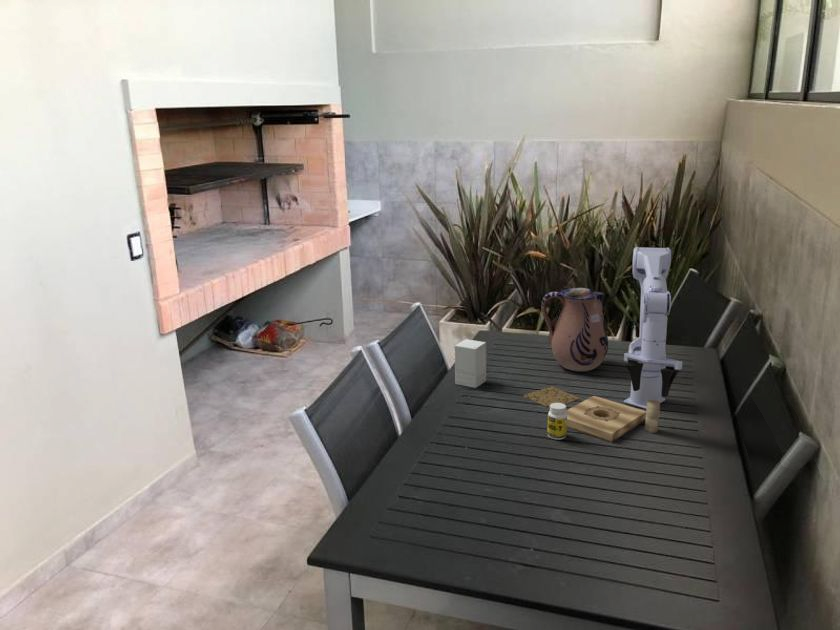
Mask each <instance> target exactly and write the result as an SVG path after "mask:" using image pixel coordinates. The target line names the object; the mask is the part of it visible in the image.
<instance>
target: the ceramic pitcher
mask: <svg viewBox="0 0 840 630" xmlns="http://www.w3.org/2000/svg"><path fill="white" fill-rule="evenodd" d="M604 297H605V293H603V292H601V291H593V292H592V290H591V289H590V288H585V287H576V288H574V287H573V288H567V289H564V290H562V291H551V292H548V293H546V294H544V296H543V297H542V300H541V313H542V315H543V319H544V322H545V325H546V326H547V329H548V332H549V333H548V341H549V344H550V346H551V350H552V355H553V357H554V359H555V360H556V362H557V363H558V364H559V365H560V366H562V367H563V368H564V369H566V370H568V371H572V372H577V373H579V372H582V373H583V372H589V371H593V370H594V369H596V368H598V367H599V366H600V365H601V364H602V363H604V361H605V359H606V358H607V355H608V351H609V337H608V330H607V326H606V322H605V317H604V310H603V301H604ZM554 298H555V299H556V298H557V299H558V300H560V302H561V305H562V308H561V311H560V313H559V316H558V318H557V320H556V322H555V323H554V324H552V321H551V319H550V317H549V315H548V312H547V303H548V302H549V300H550V299H554Z"/></svg>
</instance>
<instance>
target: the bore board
mask: <svg viewBox="0 0 840 630" xmlns="http://www.w3.org/2000/svg"><path fill="white" fill-rule="evenodd" d="M566 413H567V429H570V430H573V431H576V432H579V433H582V434H585V435H587V436H591V437H594V438H597V439H599V440H602V441H606V442H609V443H614V442H615V441H616V440H617V439H619V438H620V437H622V436H624V435H625V434H628V432H630V431H631V430H632V429H635V428H636V427H638V426H639V425H640V424H642V423H643V422H644V423H645V420H646V410H643V409H640V408H636V407H633V406H629V405H626V404H623V403H619V402H616V401H613V400H610V399H605V398H603V397H599V396H596V395H593V396H590V397H588V398H587V399H585V400H583V401H581V402H579V403H577V404H576V405H574V406H572V407H569V408H568V409H566Z"/></svg>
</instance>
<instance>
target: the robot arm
mask: <svg viewBox="0 0 840 630" xmlns="http://www.w3.org/2000/svg"><path fill="white" fill-rule="evenodd" d="M632 253H633V254H632V276H633V278H634V279H635V280H637V281H638V282H639V286H640V310H639V311H640V312H639V314H640V315H639V337H638V338H636V339H634V340H633V341H632V342H630V344H629V346H628V352H626V353H624V354H623V356H624V357H623V361H624V362H626V363H625V368H626V370H627V373H628V374H629V378H630V381H631V382H630V395H629V397H628V398H626V399H624V400H623V403H625V404H628V405H631V406H634V407H638V408H642V409H644V410H645V409H646V408H647V400H649V399H655V400H658V401H660V404H661V403H663V402H665V401H666V398H665V397H667V396H669V393H670V389H671V387H672V385H673V382H674V381H675V380H674V379H676V376H677V375H678V373H679V372H680V370H683V361H682V360H677V359H673V358H668V357H667V353H666V342H667V328H668V316H669V315H670V312H671V307H672V298H671V297H672V296H671V292H670V290H668V286H667V285H668V284H667V280H666V279H668V278H667V277H668V276H669V272H670V268H671V264H672V263H671V262H672V250H671V249H670V248H669V247H643V246H642V247H641V246H639V247H638V246H635V247H634V248H633V251H632Z"/></svg>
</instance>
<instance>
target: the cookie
mask: <svg viewBox="0 0 840 630" xmlns="http://www.w3.org/2000/svg"><path fill="white" fill-rule="evenodd" d="M523 397H524V398H526V397H527V398H526V399H528V398H529V400H530V399H531V400H530V401H534V402H535V403H538V404H539V405H542V406H544V407H547V408H548V409H550V405H551V404H552V403H562V404H564V405H566V406H567V405H568V404H572V403H575V402H577V401H580V400H582V398H580V397H578V396H576V395H573V394H572V393H568V392H566V391H563V390H562V389H559V388H557V387H554V386H547V387H544V388H542V389H539V390H535V391H532V392H528V393H526V394H524V395H523Z"/></svg>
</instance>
